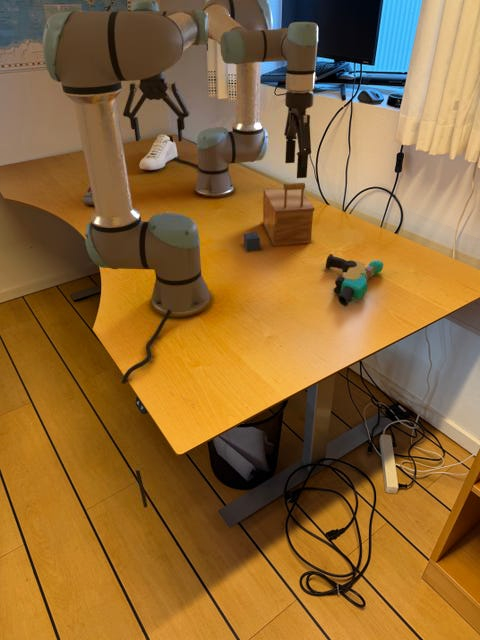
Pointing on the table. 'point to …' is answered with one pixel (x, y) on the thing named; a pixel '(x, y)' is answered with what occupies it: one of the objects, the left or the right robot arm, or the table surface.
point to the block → (251, 241)
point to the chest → (287, 225)
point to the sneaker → (160, 153)
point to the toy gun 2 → (352, 277)
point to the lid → (289, 199)
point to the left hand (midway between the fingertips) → (159, 140)
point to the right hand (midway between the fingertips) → (295, 170)
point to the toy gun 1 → (88, 198)
